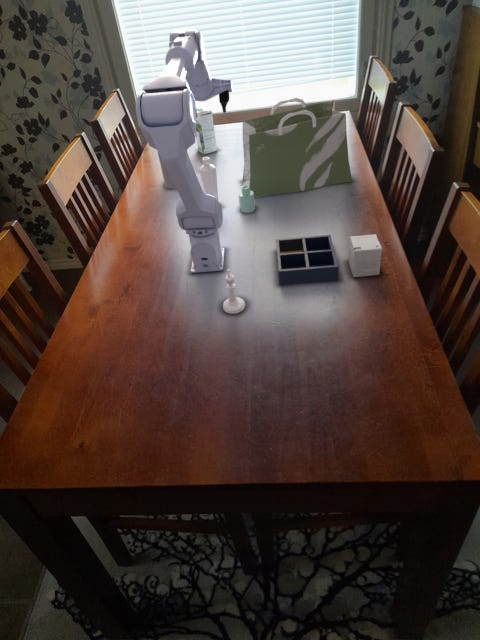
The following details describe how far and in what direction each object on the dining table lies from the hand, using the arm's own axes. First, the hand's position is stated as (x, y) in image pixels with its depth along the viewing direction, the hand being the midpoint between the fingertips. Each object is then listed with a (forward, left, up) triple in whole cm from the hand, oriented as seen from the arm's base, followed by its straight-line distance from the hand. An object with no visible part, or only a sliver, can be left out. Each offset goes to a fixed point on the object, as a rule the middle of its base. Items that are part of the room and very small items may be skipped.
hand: (210, 111), depth 118 cm
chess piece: (-48, -4, -27) cm, 55 cm away
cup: (+17, +16, -27) cm, 35 cm away
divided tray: (-35, -21, -27) cm, 49 cm away
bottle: (-5, -7, -27) cm, 28 cm away
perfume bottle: (-2, +3, -27) cm, 27 cm away
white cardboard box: (-38, -34, -27) cm, 58 cm away
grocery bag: (+10, -22, -27) cm, 36 cm away
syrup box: (+42, +8, -27) cm, 50 cm away
